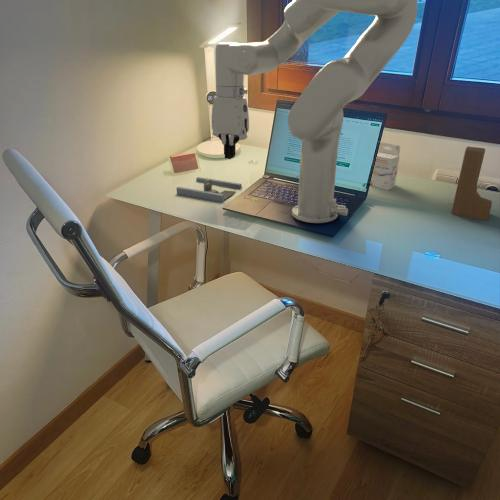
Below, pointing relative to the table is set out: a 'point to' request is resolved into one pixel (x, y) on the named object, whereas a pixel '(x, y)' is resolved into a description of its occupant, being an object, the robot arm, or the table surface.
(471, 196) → the wooden block
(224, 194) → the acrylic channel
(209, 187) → the strap clip
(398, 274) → the table surface
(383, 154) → the ink cartridge box
